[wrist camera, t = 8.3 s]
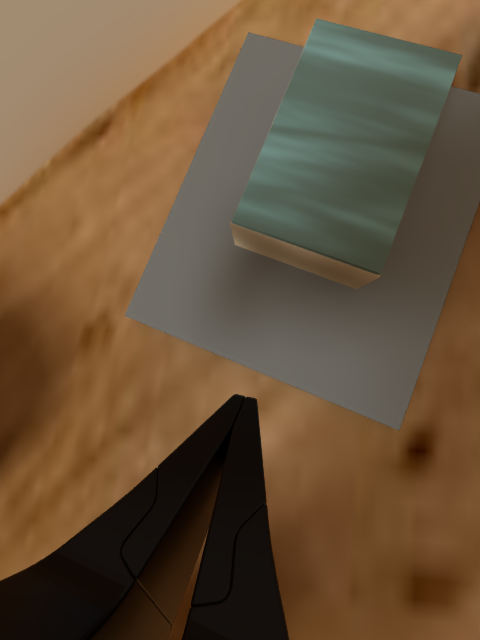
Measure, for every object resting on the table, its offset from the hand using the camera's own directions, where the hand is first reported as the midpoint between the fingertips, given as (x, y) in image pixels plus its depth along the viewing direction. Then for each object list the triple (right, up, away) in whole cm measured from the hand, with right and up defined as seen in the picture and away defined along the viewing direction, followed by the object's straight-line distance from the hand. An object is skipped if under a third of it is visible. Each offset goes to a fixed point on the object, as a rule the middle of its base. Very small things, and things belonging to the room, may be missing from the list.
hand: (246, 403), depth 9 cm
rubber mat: (+5, +11, +9) cm, 15 cm away
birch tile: (+3, +7, +6) cm, 10 cm away
